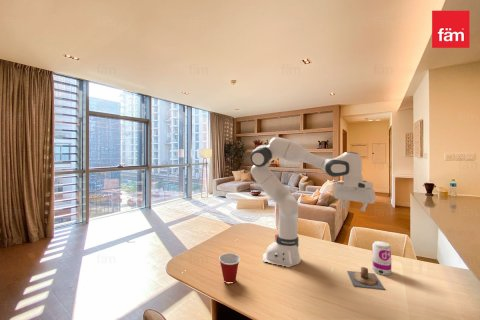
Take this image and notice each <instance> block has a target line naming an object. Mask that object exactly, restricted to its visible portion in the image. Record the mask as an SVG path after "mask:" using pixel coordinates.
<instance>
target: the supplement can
mask: <svg viewBox="0 0 480 320" xmlns="http://www.w3.org/2000/svg"><path fill="white" fill-rule="evenodd" d="M371 246H372V249H371V250H372V252H371V253H372V271H374V272H375V274H378V275H381V276H390V275H391V274H392V247H391V245H390V244H389V243H388V242H387V241H382V240H374V242H373V243H372V245H371ZM389 274H390V275H389Z"/></svg>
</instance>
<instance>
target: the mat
mask: <svg viewBox="0 0 480 320" xmlns="http://www.w3.org/2000/svg"><path fill="white" fill-rule="evenodd" d="M346 272H347V274H348V276H349V279H350V282H351V283H352V286H353V287H355V288H357V287H358V288H366V289H374V290H382V291H385V290H386V287H384V285H383V283H382V282H381V280H380V279H379V278H378V276H377V275H376V272H375V273H374V272H368V274H370V275H372V276H374V277H375V278H376V280H377V283H376V284H375V285H365V284H361V283H359V282H357V281H356V280H355V279H354V278H353V274H354V273H356V272H357V271H353V270H352V271H351V270H347V271H346Z"/></svg>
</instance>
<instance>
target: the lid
mask: <svg viewBox="0 0 480 320" xmlns="http://www.w3.org/2000/svg"><path fill="white" fill-rule="evenodd" d="M355 272H356V273H354V274H353V278H354V279H355V280H356V281H357V282H359V283H361V284H365V285H375V284H376V283H377V280H376V278H375V277H374V276H372V275H370V274H368V273H369V269H368V268H367V267H364V266H362V267H360V271H355Z"/></svg>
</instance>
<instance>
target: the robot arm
mask: <svg viewBox="0 0 480 320" xmlns="http://www.w3.org/2000/svg"><path fill="white" fill-rule="evenodd" d="M249 155H250V156H249V161H250V162H251V164H252V166H251V168H250V174H251V176H252V178H253V179H254V181H255V182H256V183H257V185H259V187H260V188H261V189H262V190H263V192H265V194H266V195H267V196H268V197H269V198H270V199H271V200H272V201H273V202H274V203H275V204H276V205H277V206H278V223H277V224H278V225H277V226H278V233H275V235H274V237H275V239H274V240H275V241H273V242H272V243H270V244H269V245H268V246H267V248H266V251H265V252H264V253H263V255H262V262H263V261H264V262H268V263H273V264H278V265H282V266H281V267H284V266H286V267H285V268H292V266H296V265H299V264H300V263H301V261H302V259H301V256H300V252H299V251H300V250H299V245H300V239H299V235H298V232H299V231H298V220H299V201H297V199H296V198H295V196H294V195H293V194H292V193H291V191H289V189H288V188H287V187H286V186H285V185H284V184H283V182H281V180H280V179H279V178H278V177H277V176H276V174H274V172H272V170H271V169H270V167H269V165H268V164H270V162H271V160H272V158H274V157H278V158H281V159H284V160H286V161H288V162H294V163H306V164H308V165H311V166H313V167H317V168H319V169H321V170H322V171H323V172H324V173H325V174H327V175H328V176H329V177H332V178H338V177H342V176H343V177H342V178H343V181H336V182H334V184H333V185H334V187H333V188H334V191H333V197H334V198H335V199H338V200H340V203H341V205H342V208H343V209H348V204H346V202H345V201H349V202H350V201H351V202H357V203H362V206H360V212H366V208H367V206H368V204H371V205H372V204H374V203H375V202H376V201H377V199H376V191H375V189H374V183H373V182H371V181H368V180H366V179H364V178H363V174H362V171H363V163H362V161H363V160H362V157H361V154H360V153H358V152H355V151H354V152H352V151H345V152H343V153H341V154H340V155H339V156H336V157H334V158H333V157H328V158H327V157H322V156H320V155H317V154H316V153H315V154H314V153H312V152H310V151H309V150H307V149H306V148H305V147H304V146H303V145H301V144H299V143H298V142H296V141H294V140H291V139H287V138H284V137H279V136H273V137H272V138H271V139H270V140H269V142H268V144H267V143H264V144H263V143H262V144H259V145H258V146H256V148H255V149H253V150H252V152H251V153H250V154H249ZM264 262H263V263H264ZM268 263H267V264H268ZM273 264H272V265H273ZM278 265H277V266H278Z"/></svg>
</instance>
